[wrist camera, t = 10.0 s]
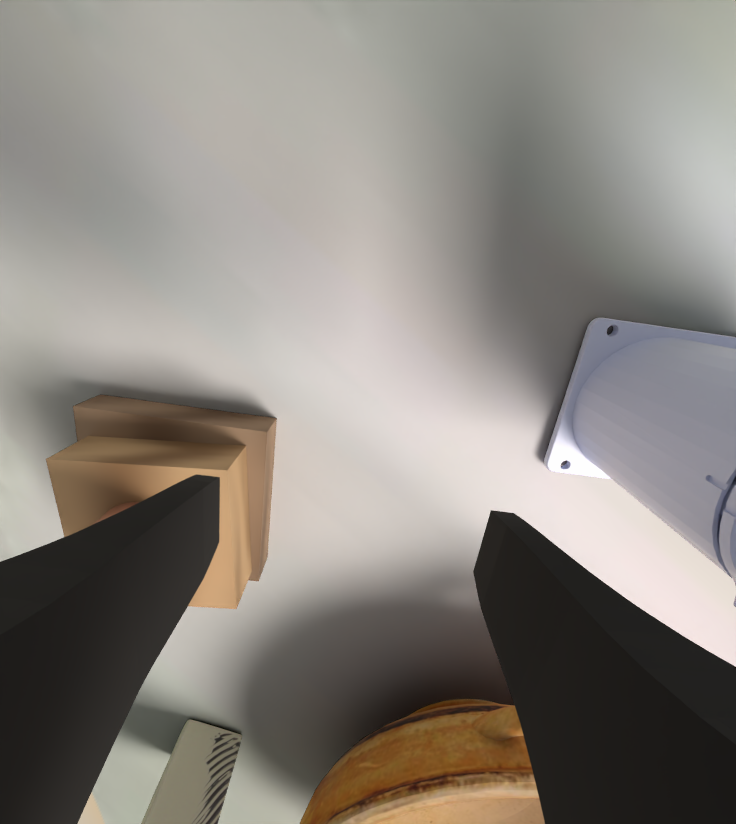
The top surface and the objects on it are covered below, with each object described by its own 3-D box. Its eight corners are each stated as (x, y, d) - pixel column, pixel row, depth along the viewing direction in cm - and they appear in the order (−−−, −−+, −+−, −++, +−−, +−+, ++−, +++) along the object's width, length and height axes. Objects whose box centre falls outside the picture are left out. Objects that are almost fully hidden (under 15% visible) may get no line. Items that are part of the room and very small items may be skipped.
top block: (246, 445, 18) (227, 470, 16) (251, 571, 20) (236, 609, 18) (88, 435, 18) (46, 459, 16) (113, 563, 20) (79, 599, 18)
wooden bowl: (345, 564, 23) (332, 706, 15) (709, 635, 24) (860, 793, 17) (272, 835, 32) (242, 1004, 25) (537, 872, 34) (585, 1041, 26)
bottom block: (279, 414, 20) (267, 432, 18) (269, 550, 23) (258, 581, 21) (108, 391, 20) (73, 406, 17) (120, 532, 23) (92, 561, 20)
